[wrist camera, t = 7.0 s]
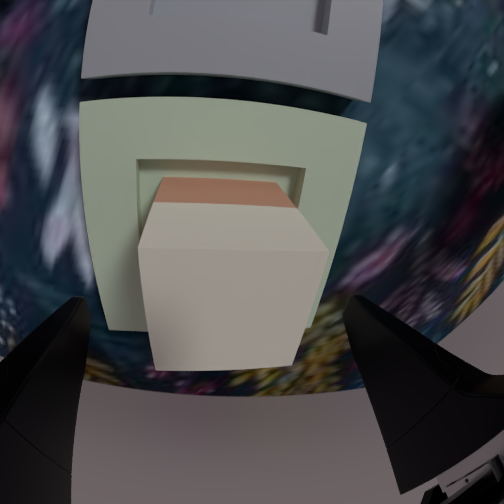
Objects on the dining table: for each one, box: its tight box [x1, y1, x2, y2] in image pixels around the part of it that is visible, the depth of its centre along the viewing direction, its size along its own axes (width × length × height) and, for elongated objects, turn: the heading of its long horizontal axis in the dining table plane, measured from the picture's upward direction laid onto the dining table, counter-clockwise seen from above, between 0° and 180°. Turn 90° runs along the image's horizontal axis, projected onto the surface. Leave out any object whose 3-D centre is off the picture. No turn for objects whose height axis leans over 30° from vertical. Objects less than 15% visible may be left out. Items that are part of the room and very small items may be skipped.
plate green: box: [79, 97, 367, 332], centre depth 13 cm, size 12×12×2 cm
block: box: [138, 177, 330, 371], centre depth 11 cm, size 5×5×6 cm
